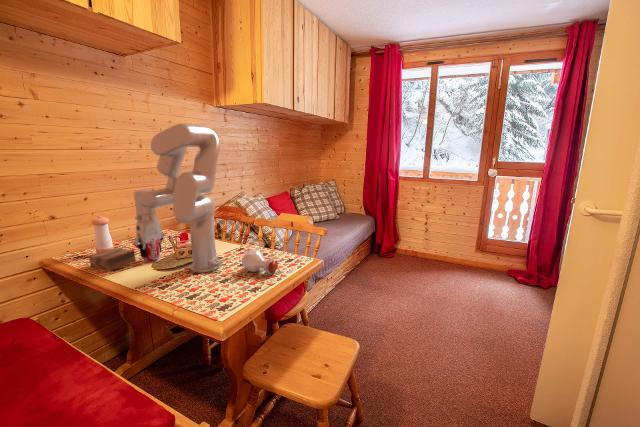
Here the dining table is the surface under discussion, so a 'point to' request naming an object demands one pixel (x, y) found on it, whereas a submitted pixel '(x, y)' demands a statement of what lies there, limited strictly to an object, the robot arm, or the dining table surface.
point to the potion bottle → (258, 262)
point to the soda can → (152, 251)
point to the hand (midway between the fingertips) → (151, 254)
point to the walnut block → (112, 259)
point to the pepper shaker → (102, 234)
